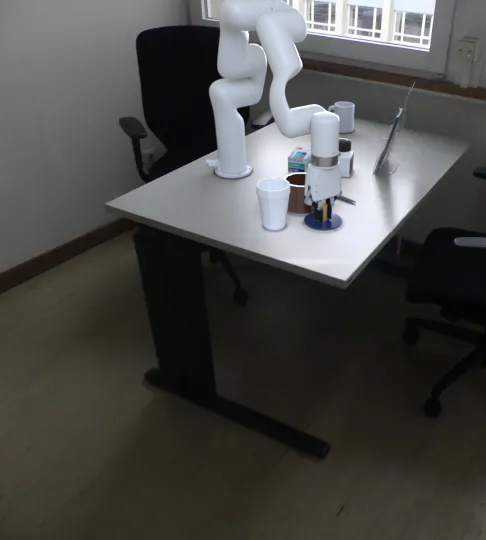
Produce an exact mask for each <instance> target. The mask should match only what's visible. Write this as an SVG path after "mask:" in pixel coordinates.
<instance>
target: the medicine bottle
mask: <svg viewBox="0 0 486 540" xmlns="http://www.w3.org/2000/svg"><path fill="white" fill-rule="evenodd" d="M339 151H340V153H341V156H339V157H338V162H339V164H340V169H341V178H350V177H351V176H352V172H353V171H354V155H355V152H354V150H352V140H350V139H348V138H343V137H339Z"/></svg>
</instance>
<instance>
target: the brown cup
mask: <svg viewBox="0 0 486 540" xmlns="http://www.w3.org/2000/svg"><path fill="white" fill-rule="evenodd" d="M305 178H306V173H293V174H289V175H288V174H287V175H285V176H284V178H283V179H285V180H287V181H289V183H290V194H289V202H288V210H287V213H288V212H289V213H290V214H293V215H308V214H310V213H313V212H314V207H313V206H312V205H307V204H305V203H304V201H305V198H306V196H305ZM311 200H312V201H313V199H311Z"/></svg>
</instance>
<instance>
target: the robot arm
mask: <svg viewBox="0 0 486 540" xmlns="http://www.w3.org/2000/svg"><path fill="white" fill-rule="evenodd" d="M218 23H219V39H218V40H219V41H218V51H217V63H216V66H217V72H218V73H219V76H221V78H219V79H217V80H215V81H213V82H212V83H211V85H210V86H209V87H208V95H209V100H210V104H211V107H212V111H213V116H214V125H215V137H216V146H217V147H216V148H217V157H218V158H216V159H206V160H205V162H206V163H205V164H206V166H208V168H214V173H215V175H217V176H218V177H220V178H223V179H242V178H244V177H247V176H249V175H250V174H251V173H252V170H253V169H252V166H251V165H250V164H248V163H247V148H246V147H247V146H246V133H245V131H246V130H245V122H244V118H243V117H242V115H241V114H240V113H239V112H238V110H237V109H240V108H244V107H249V106H253V105H256V104H258V103H259V102H260V101H261V100H262V96H263V92H264V86H265V81H266V77H267V68H268V65H269V67H270V70H271V73H272V81H271V84H270V86H269V97H268V99H269V100H268V101H269V108H270V112H271V115H272V117H273V119H274V122H275V125H276V127H277V129H278V130H279V132H280V134H281V135H282V136H284V137H285V138H287V139H295V138H299V137H303V136H307V135H310V148H311V163H310V164H308V167H307V172H306V178H305V196H306V198H305V201H304V203H305V204H307V205H312V206H313V207H314V217H315V219H316V220H318V221H319V222H322V221H323V210H322V209H321V208H322V203H323V201H324V203H327V205H328V206H327V218H328V219H331V216H332V213H333V207H334V205H335V202H336V201H337V199H338V198H339V197H340V196H341V195H343V191H342V177H341V169H340V164H339V162H338V157H339V156H341V153H340V151H339V139H340V133H339V125H340V120H339V117H338V115H336V114H335V113H334V112H331V111H330V112H328V110H326V109H325V108H324V107H323V106H321V105H319V104H314V103H313V104H308V105H303V106H302V105H301V106H298V107H292V108H291V107H290V106H289V104H288V101H287V98H286V86H287V83H288V81H290V80H291V79H293V78H294V77H295V76H297V75H298V74H299V73H300V72H301V70H302V69H303V62H302V59H301V57H300V54H299V51H298V49H297V46H296V44H298V43H301V42H303V41H305V39H306V38H307V35H308V24H307V21H306V19H305V17H304V15H303V14H302V12H301V11H299V10H298V9H297V8H295V7H293V6H292V5H290V4H288V3H287V2H285V1H283V0H223V1H222V2H221V3H220V5H219V9H218ZM249 32H256V35H257V37H258V40H259V42H260V45H259V44H257V43H249V42H250V34H249ZM311 199H313V201H312V200H311Z"/></svg>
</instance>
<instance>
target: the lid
mask: <svg viewBox="0 0 486 540" xmlns="http://www.w3.org/2000/svg"><path fill="white" fill-rule="evenodd" d="M327 206H328V205H327V203H325V202H322V208H321V209H322V210H323V221H322V222H319V221H318V220H316V219H315V217H314V212H312V213H308V214H305V216H304V217H303V224H304V225H305V226H306V227H307V228H309V229H312V230H315V231H322V232H323V231H325V232H326V231H332V230H335V229H338V228H339V227H341V226H342V224H343V219H342V217H341V216H340V215H339V214H337V213H335V212H332V216H331V219H328V218H327Z"/></svg>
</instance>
